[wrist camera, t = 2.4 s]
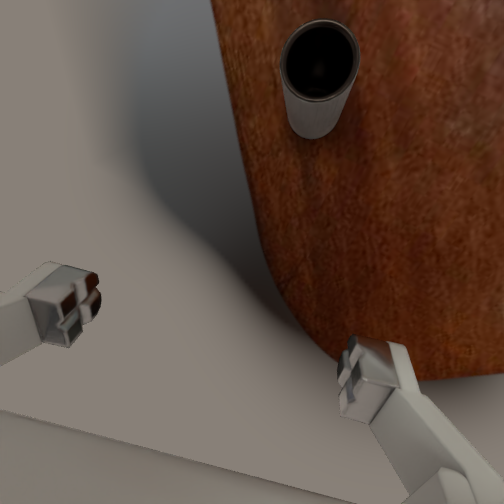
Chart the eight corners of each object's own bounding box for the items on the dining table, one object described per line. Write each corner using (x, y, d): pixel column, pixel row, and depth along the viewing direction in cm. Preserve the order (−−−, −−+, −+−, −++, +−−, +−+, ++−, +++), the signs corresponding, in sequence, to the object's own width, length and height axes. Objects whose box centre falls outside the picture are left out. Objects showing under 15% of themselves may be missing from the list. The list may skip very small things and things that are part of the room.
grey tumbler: (282, 134, 28) (272, 96, 18) (293, 82, 28) (289, 12, 18) (332, 143, 28) (349, 108, 18) (345, 90, 27) (370, 22, 17)
